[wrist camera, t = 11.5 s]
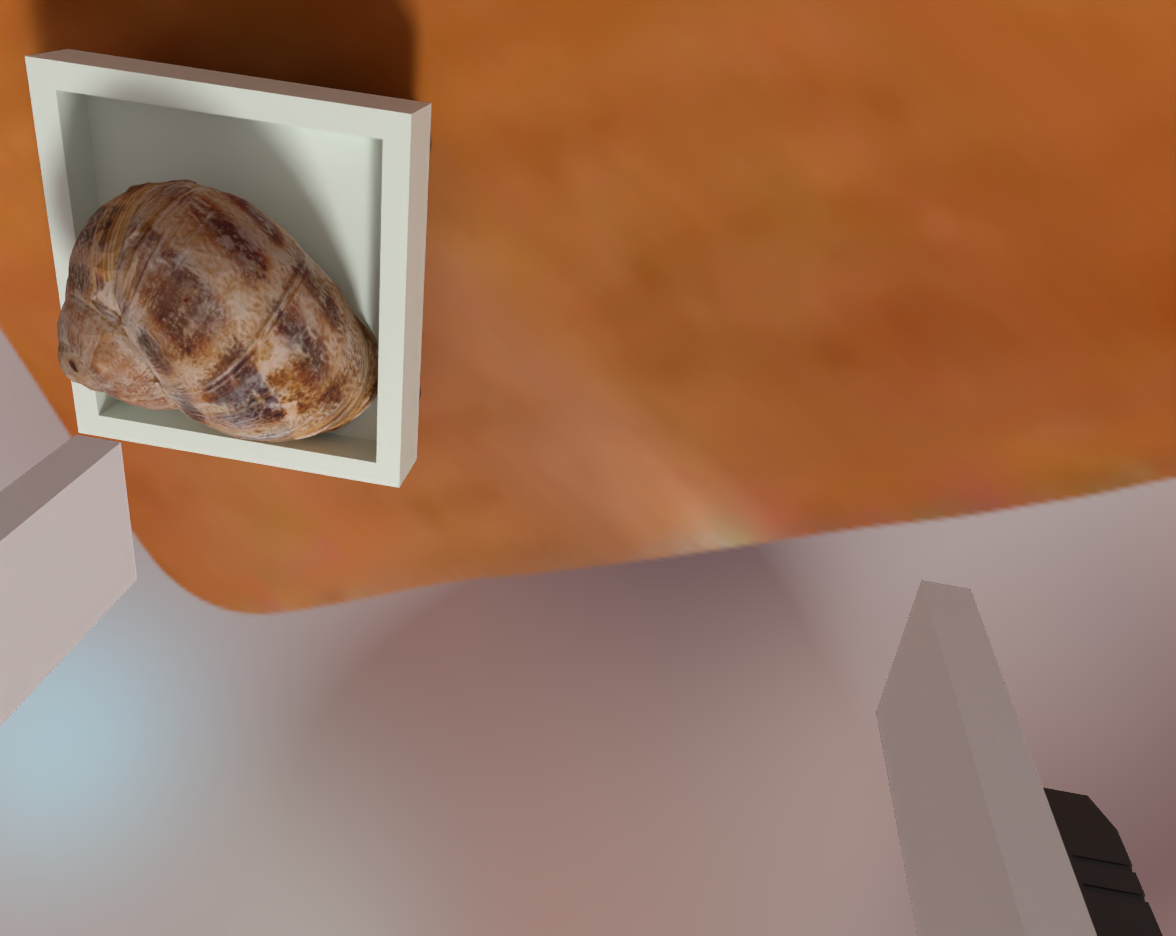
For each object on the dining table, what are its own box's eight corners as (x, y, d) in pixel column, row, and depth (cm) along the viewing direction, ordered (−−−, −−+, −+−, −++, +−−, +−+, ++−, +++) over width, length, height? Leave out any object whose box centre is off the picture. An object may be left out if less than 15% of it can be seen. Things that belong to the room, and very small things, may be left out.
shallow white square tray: (105, 42, 39) (24, 56, 35) (448, 94, 39) (411, 114, 34) (141, 385, 47) (78, 432, 42) (431, 434, 46) (399, 487, 41)
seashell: (148, 437, 43) (-17, 408, 33) (170, 232, 43) (14, 143, 34) (383, 454, 42) (285, 430, 32) (402, 243, 42) (312, 155, 32)
